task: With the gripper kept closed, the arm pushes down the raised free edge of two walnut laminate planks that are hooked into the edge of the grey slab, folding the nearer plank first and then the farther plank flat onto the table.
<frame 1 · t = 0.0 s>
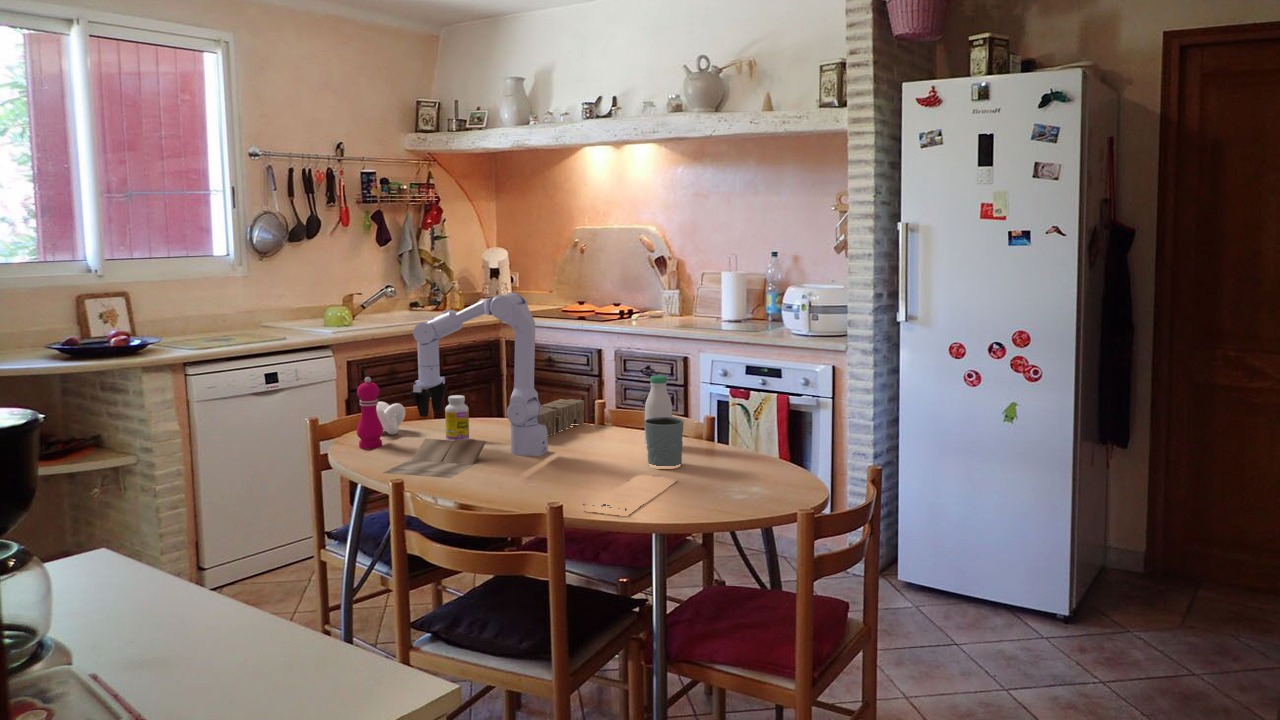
hand: (430, 413, 285), 10 cm above the table, tool pointing down, fingers open, 7 cm apart
milk bottle: (658, 447, 289), on the table
grey-green tapered open cylinder: (663, 466, 268), on the table
plank far: (433, 451, 273), point 3 cm above the table, hinge at 26.0°
baseboard molding: (635, 499, 240), on the table
grey slab: (428, 472, 262), on the table
plank near: (463, 452, 271), point 3 cm above the table, hinge at 30.0°
block tower: (548, 433, 309), on the table
supplement bottle: (457, 441, 297), on the table
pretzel: (383, 433, 308), on the table
pepper mill: (370, 447, 290), on the table
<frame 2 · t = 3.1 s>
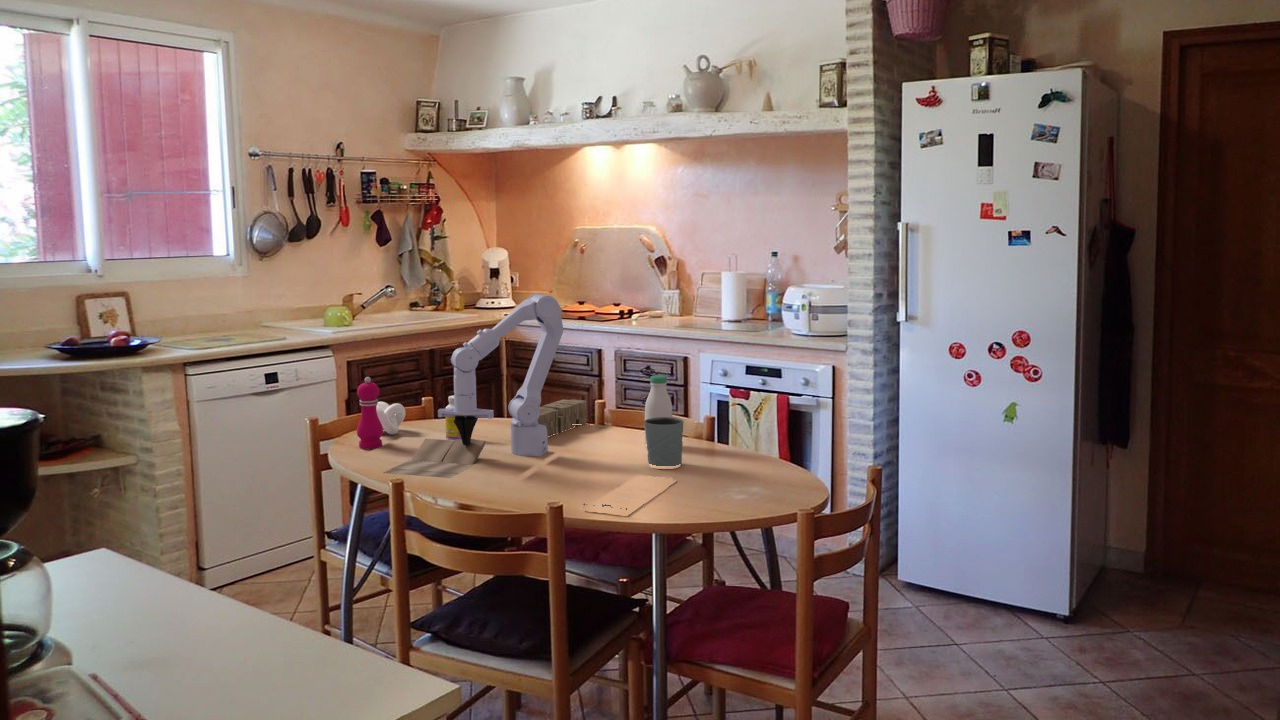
hand: (466, 444, 272), 5 cm above the table, tool pointing down, fingers closed, pressing on plank near
plank near: (463, 453, 271), point 3 cm above the table, hinge at 29.3°, touching gripper
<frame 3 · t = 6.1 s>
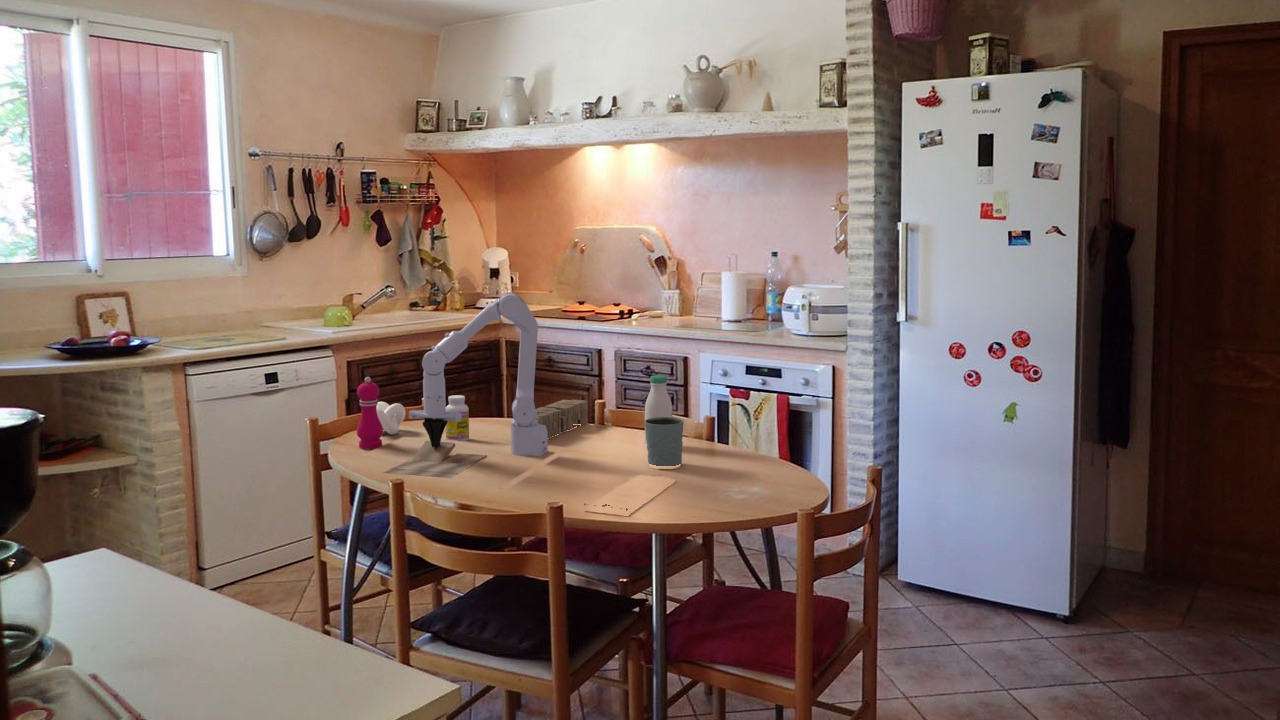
hand: (435, 446, 275), 4 cm above the table, tool pointing down, fingers closed, pressing on plank far
plank far: (433, 452, 273), point 2 cm above the table, hinge at 21.1°, touching gripper
plank near: (464, 460, 271), point 1 cm above the table, hinge at 2.0°
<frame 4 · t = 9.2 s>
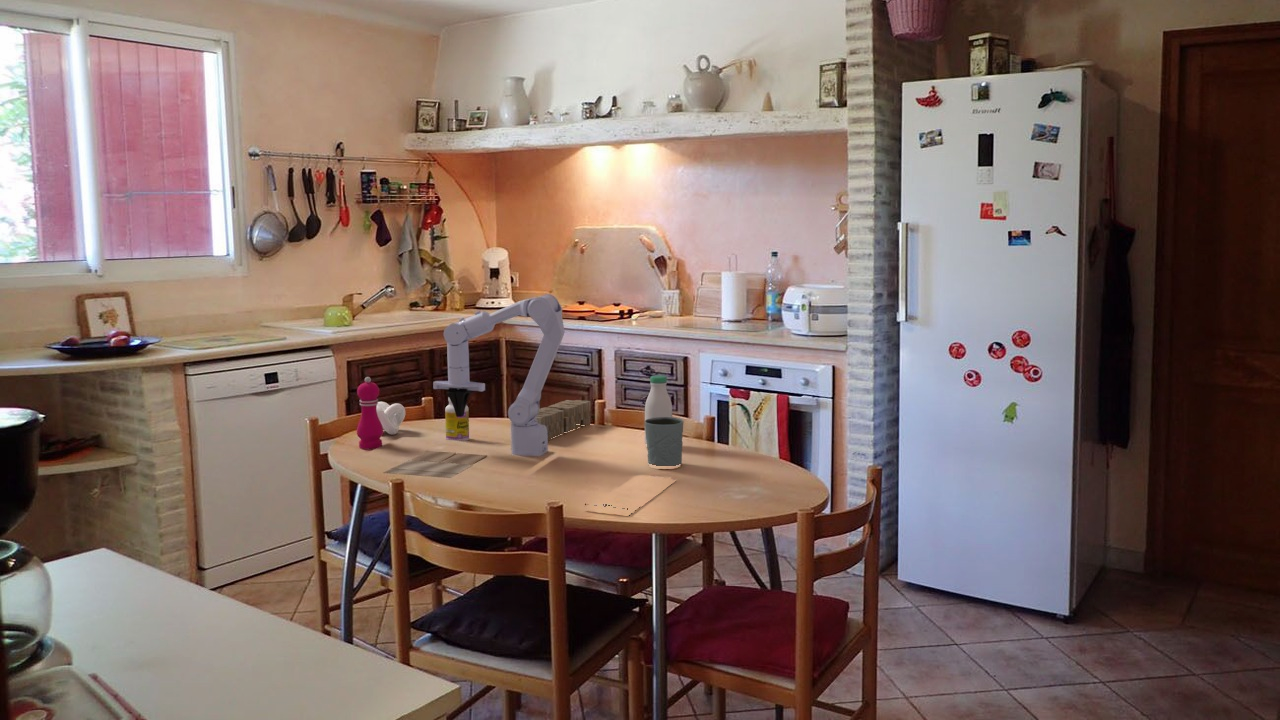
hand: (460, 416, 280), 10 cm above the table, tool pointing down, fingers closed
plank far: (433, 458, 274), point 1 cm above the table, hinge at 2.3°
at the end: plank near at +2° (first picture: +30°); plank far at +2° (first picture: +26°) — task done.
